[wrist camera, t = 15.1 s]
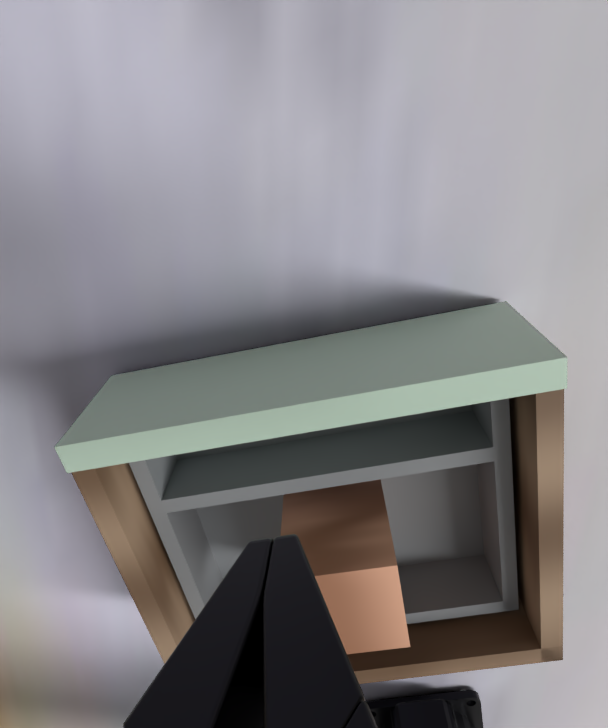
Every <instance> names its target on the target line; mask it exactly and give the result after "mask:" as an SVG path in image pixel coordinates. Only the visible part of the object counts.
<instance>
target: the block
mask: <svg viewBox="0 0 608 728" xmlns="http://www.w3.org/2000/svg"><path fill="white" fill-rule="evenodd" d="M291 534H296V535H297V536H298V537H299V540H300V542H301V544H302V547H303V549H304V552H305V554H306V557H307V559H308V561H309V564H310V566H311V569H312V571H313V573H314V576H315V578H316V581H317V583H318V586H319V588H320V590H321V593H322V595H323V598H324V600H325V602H326V605H327V607H328V610H329V612H330V615H331V617H332V619H333V622H334V624H335V627H336V629H337V631H338V634H339V636H340V639H341V641H342V644H343V646H344V648H345V651H346V653H347V654H354V653H363V652H371V651H380V650H389V649H397V648H406V647H410V641H409V635H408V629H407V622H406V616H405V610H404V604H403V598H402V591H401V585H400V579H399V573H398V566H397V561H396V556H395V551H394V545H393V540H392V535H391V530H390V525H389V520H388V515H387V509H386V504H385V499H384V494H383V489H382V484H381V479H379V480H373V481H367V482H360V483H354V484H348V485H341V486H335V487H329V488H322V489H316V490H310V491H303V492H297V493H291V494H284V496H283V509H282V523H281V536H284V535H291Z"/></svg>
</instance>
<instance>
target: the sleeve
mask: <svg viewBox="0 0 608 728" xmlns="http://www.w3.org/2000/svg"><path fill="white" fill-rule="evenodd" d="M509 409H510V431H511V452H512V474H513V496H514V517H515V539H516V561H517V583H518V604H519V610H512V611H504V612H497V613H489V614H481V615H474V616H466V617H458V618H450V619H443V620H435V621H427V622H419V623H412V624H407V629H408V635H409V641H410V647H406V648H397V649H389V650H380V651H371V652H363V653H354V654H347V656H348V658H349V661H350V663H351V665H352V668H353V670H354V673H355V675H356V677H357V680H358V682H359V684H363V683H372V682H380V681H389V680H397V679H405V678H414V677H422V676H431V675H439V674H447V673H456V672H464V671H473V670H481V669H489V668H498V667H506V666H515V665H523V664H531V663H540V662H548V661H557V660H563V481H564V389H561V390H555V391H549V392H543V393H537V394H531V395H525V396H519V397H513V398H509ZM71 473H72V475H73V477H74V479H75V481H76V483H77V485H78V487H79V489H80V491H81V494H82V496H83V498H84V500H85V502H86V504H87V506H88V508H89V510H90V512H91V514H92V516H93V518H94V520H95V522H96V524H97V526H98V528H99V530H100V532H101V534H102V537H103V539H104V541H105V543H106V545H107V547H108V549H109V551H110V553H111V555H112V557H113V559H114V561H115V563H116V565H117V567H118V569H119V571H120V573H121V575H122V578H123V580H124V582H125V584H126V586H127V588H128V590H129V592H130V594H131V596H132V598H133V600H134V602H135V604H136V606H137V608H138V610H139V612H140V614H141V616H142V619H143V621H144V623H145V625H146V627H147V629H148V631H149V633H150V635H151V637H152V639H153V641H154V643H155V645H156V647H157V649H158V651H159V653H160V655H161V657H162V660H163V662H164V664H165V663H166V661H167V660H168V658H169V657H170V656H171V654H172V653H173V651H174V650H175V648H176V647H177V645H178V644H179V643H180V641H181V640H182V638H183V637H184V635H185V634H186V632H187V631H188V629H189V628H190V627H191V625H192V624H193V622H194V621H195V617H194V615H193V612H192V610H191V608H190V605H189V603H188V601H187V598H186V596H185V594H184V591H183V589H182V587H181V584H180V582H179V580H178V577H177V575H176V573H175V570H174V568H173V565H172V563H171V561H170V558H169V556H168V554H167V551H166V549H165V547H164V544H163V542H162V540H161V537H160V535H159V533H158V530H157V528H156V526H155V523H154V521H153V519H152V516H151V514H150V512H149V509H148V507H147V504H146V502H145V500H144V497H143V495H142V493H141V490H140V488H139V486H138V483H137V481H136V479H135V476H134V474H133V472H132V469H131V467H130V465H129V463H124V464H118V465H112V466H106V467H101V468H95V469H89V470H83V471H77V472H71Z"/></svg>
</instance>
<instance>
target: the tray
mask: <svg viewBox="0 0 608 728" xmlns="http://www.w3.org/2000/svg"><path fill="white" fill-rule="evenodd" d="M566 388H567V357H566V356H565V355H564V354H563V353H562V352H561V351H560V350H559V349H558V348H557V347H555V346H554V345H553V344H552V343H551V342H550V341H549V340H548V339H547V338H546V337H545V336H543V335H542V334H541V333H540V332H539V331H538V330H537V329H536V328H535V327H534V326H532V325H531V324H530V323H529V322H528V321H527V320H526V319H525V318H524V317H523V316H522V315H520V314H519V313H518V312H517V311H516V310H515V309H514V308H513V307H512V306H511V305H509V304H508V303H507V302H506V301H505V302H500V303H495V304H489V305H484V306H479V307H473V308H468V309H463V310H457V311H452V312H447V313H441V314H436V315H431V316H425V317H420V318H415V319H409V320H404V321H399V322H393V323H388V324H383V325H378V326H372V327H367V328H362V329H356V330H351V331H346V332H340V333H335V334H330V335H324V336H319V337H314V338H308V339H303V340H298V341H292V342H287V343H282V344H276V345H271V346H266V347H260V348H255V349H250V350H245V351H239V352H234V353H229V354H223V355H218V356H213V357H207V358H202V359H197V360H191V361H186V362H181V363H175V364H170V365H165V366H159V367H154V368H149V369H143V370H138V371H133V372H127V373H122V374H117V375H112V376H111V377H110V378H109V379H108V380H107V382H106V383H105V384H104V386H103V387H102V388H101V389H100V391H99V392H98V393H97V394H96V396H95V397H94V398H93V399H92V401H91V402H90V403H89V404H88V406H87V407H86V408H85V409H84V411H83V412H82V413H81V414H80V416H79V417H78V418H77V419H76V421H75V422H74V423H73V424H72V426H71V427H70V428H69V429H68V431H67V432H66V433H65V434H64V436H63V437H62V438H61V439H60V441H59V442H58V443H57V444H56V446H55V447H54V448H55V450H56V452H57V454H58V456H59V458H60V460H61V462H62V464H63V466H64V468H65V470H66V472H67V473H71V472H77V471H83V470H89V469H95V468H101V467H106V466H112V465H118V464H124V463H129V465H130V467H131V469H132V472H133V474H134V476H135V479H136V481H137V483H138V486H139V488H140V490H141V493H142V495H143V497H144V500H145V502H146V504H147V507H148V509H149V512H150V514H151V516H152V519H153V521H154V523H155V526H156V528H157V530H158V533H159V535H160V537H161V540H162V542H163V544H164V547H165V549H166V551H167V554H168V556H169V558H170V561H171V563H172V565H173V568H174V570H175V573H176V575H177V577H178V580H179V582H180V584H181V587H182V589H183V591H184V594H185V596H186V598H187V601H188V603H189V605H190V608H191V610H192V612H193V615H194V617H195V619H196V618H197V616H198V615H199V613H200V612H201V611H202V609H203V608H204V606H205V605H206V603H207V602H208V600H209V599H210V597H211V596H212V595H213V593H214V592H215V590H216V589H217V587H218V586H219V584H220V583H221V581H222V580H223V579H224V577H225V576H226V574H227V573H228V571H229V570H230V568H231V567H232V566H233V564H234V563H235V561H236V560H237V558H238V557H239V555H240V554H241V552H242V551H243V550H244V548H245V547H246V545H247V544H248V543H249V542H250V541H252V540H257V539H264V538H272V539H273V540H274V539H275V538H276V537H278V536H281V523H282V509H283V496H284V494H291V493H297V492H303V491H310V490H316V489H322V488H329V487H335V486H341V485H348V484H354V483H360V482H367V481H373V480H379V479H381V484H382V489H383V494H384V499H385V504H386V509H387V515H388V520H389V525H390V530H391V535H392V540H393V545H394V551H395V556H396V561H397V566H398V573H399V579H400V585H401V591H402V598H403V604H404V610H405V616H406V622H407V624H412V623H419V622H427V621H435V620H443V619H450V618H458V617H466V616H474V615H481V614H489V613H497V612H504V611H512V610H519V604H518V583H517V561H516V539H515V517H514V496H513V474H512V452H511V431H510V409H509V398H513V397H519V396H525V395H531V394H537V393H543V392H549V391H555V390H561V389H566Z"/></svg>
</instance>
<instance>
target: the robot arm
mask: <svg viewBox="0 0 608 728" xmlns="http://www.w3.org/2000/svg"><path fill="white" fill-rule="evenodd" d="M123 727H124V728H483V722H482V712H481V702H480V699H479V695H478V693H477V692H476V691H473V690H466V691H458V692H449V693H440V694H432V695H423V696H414V697H406V698H397V699H388V700H380V701H371V702H366V701H365V697H364V694H363V692H362V690H361V687H360V685H359V682H358V680H357V677H356V675H355V673H354V670H353V668H352V665H351V663H350V661H349V658H348V656H347V653H346V651H345V648H344V646H343V644H342V641H341V639H340V636H339V634H338V631H337V629H336V627H335V624H334V622H333V619H332V617H331V615H330V612H329V610H328V607H327V605H326V602H325V600H324V598H323V595H322V593H321V590H320V588H319V586H318V583H317V581H316V578H315V576H314V573H313V571H312V569H311V566H310V564H309V561H308V559H307V557H306V554H305V552H304V549H303V547H302V544H301V542H300V540H299V537H298V536H297V535H296V534H291V535H284V536H278V537H276V538H275V539H274V540H273V539H272V538H264V539H257V540H252V541H250V542H249V543H248V544H247V545H246V547H245V548H244V550H243V551H242V552H241V554H240V555H239V557H238V558H237V560H236V561H235V563H234V564H233V566H232V567H231V568H230V570H229V571H228V573H227V574H226V576H225V577H224V579H223V580H222V581H221V583H220V584H219V586H218V587H217V589H216V590H215V592H214V593H213V595H212V596H211V597H210V599H209V600H208V602H207V603H206V605H205V606H204V608H203V609H202V611H201V612H200V613H199V615H198V616H197V618H196V619H195V621H194V622H193V624H192V625H191V627H190V628H189V629H188V631H187V632H186V634H185V635H184V637H183V638H182V640H181V641H180V643H179V644H178V645H177V647H176V648H175V650H174V651H173V653H172V654H171V656H170V657H169V658H168V660H167V661H166V663H165V664H164V666H163V667H162V669H161V670H160V672H159V673H158V674H157V676H156V677H155V679H154V680H153V682H152V683H151V685H150V686H149V688H148V689H147V690H146V692H145V693H144V695H143V696H142V698H141V699H140V701H139V702H138V704H137V705H136V706H135V708H134V709H133V711H132V712H131V714H130V715H129V717H128V718H127V719H126V721H125V722H124V725H123Z"/></svg>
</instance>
